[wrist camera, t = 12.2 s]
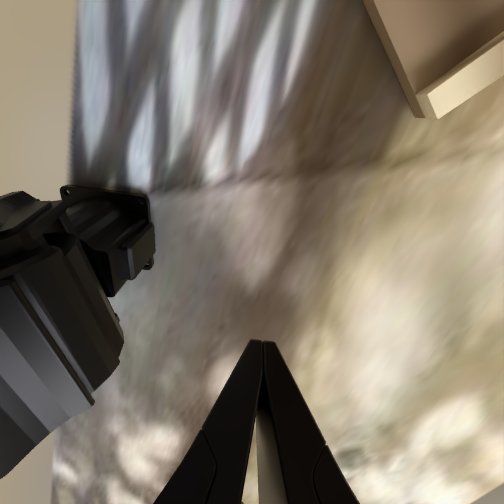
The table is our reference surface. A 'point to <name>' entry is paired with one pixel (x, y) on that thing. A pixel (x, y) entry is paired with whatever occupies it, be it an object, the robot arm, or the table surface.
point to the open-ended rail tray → (441, 48)
